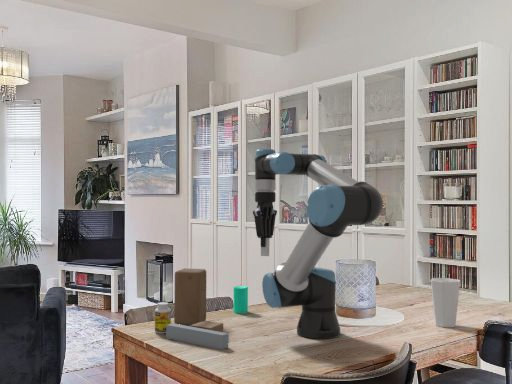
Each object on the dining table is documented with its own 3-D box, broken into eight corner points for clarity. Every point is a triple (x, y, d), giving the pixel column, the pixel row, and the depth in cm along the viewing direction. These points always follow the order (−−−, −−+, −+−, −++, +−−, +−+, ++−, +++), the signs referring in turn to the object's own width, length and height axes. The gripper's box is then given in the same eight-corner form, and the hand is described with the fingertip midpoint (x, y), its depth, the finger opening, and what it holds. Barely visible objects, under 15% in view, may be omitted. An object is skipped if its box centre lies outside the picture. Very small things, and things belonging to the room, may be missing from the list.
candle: (250, 311, 229) (250, 282, 229) (243, 314, 224) (244, 284, 224) (237, 310, 232) (237, 281, 232) (230, 312, 226) (231, 283, 226)
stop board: (228, 347, 173) (228, 333, 173) (222, 349, 170) (222, 335, 170) (172, 336, 186) (172, 323, 186) (166, 338, 184) (166, 324, 184)
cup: (433, 321, 212) (433, 277, 212) (461, 323, 207) (461, 279, 208) (429, 327, 202) (429, 281, 202) (458, 330, 197) (458, 283, 198)
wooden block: (199, 326, 202) (199, 272, 202) (173, 324, 204) (173, 271, 204) (206, 320, 211) (207, 268, 212) (182, 319, 213) (182, 268, 214)
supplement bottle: (151, 333, 191) (152, 304, 191) (159, 329, 196) (159, 301, 196) (166, 334, 189) (166, 305, 189) (173, 331, 194) (173, 302, 194)
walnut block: (223, 338, 186) (223, 323, 186) (210, 343, 179) (210, 328, 179) (203, 335, 189) (203, 320, 189) (190, 340, 182) (190, 325, 182)
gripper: (266, 191, 207) (266, 253, 207) (246, 191, 197) (246, 256, 196) (283, 191, 203) (283, 255, 203) (264, 191, 192) (263, 258, 192)
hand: (265, 255), depth 199 cm, fingers closed
